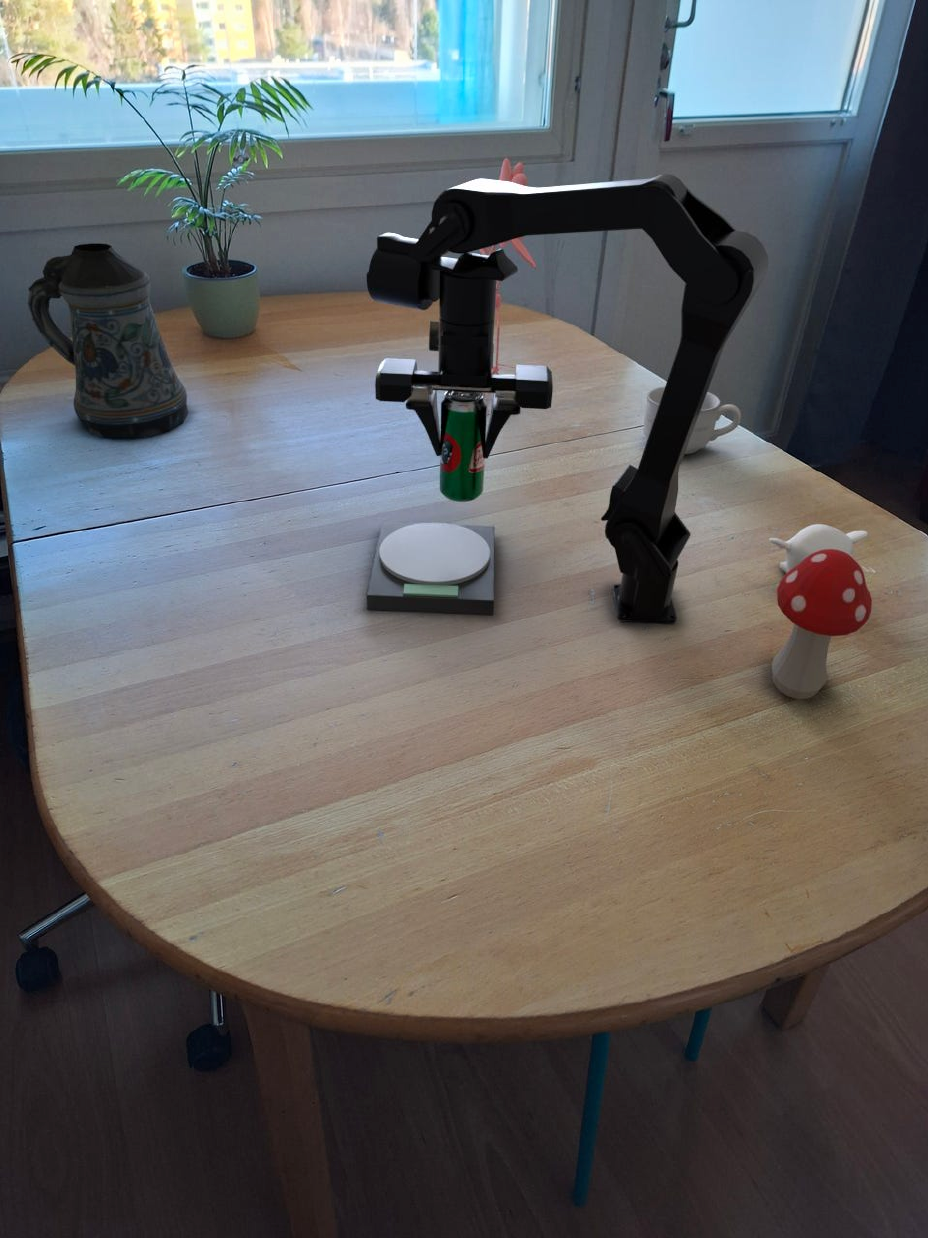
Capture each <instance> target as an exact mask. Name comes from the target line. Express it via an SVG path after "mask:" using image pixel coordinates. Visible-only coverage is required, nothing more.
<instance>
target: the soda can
mask: <svg viewBox="0 0 928 1238" xmlns="http://www.w3.org/2000/svg"><path fill="white" fill-rule="evenodd" d="M487 414H488V404H487V402H486V399H485V395H484V394H483V393H482V392H463V391H445V393H444V397H443V399H442V400H441V402H440V456H439V492H440V493H441V494H442V495H443V497H444V498H446V499H447V500H449V501H453V502H456V503H457V502H459V503H466V502H472V501H474V500H477V499H478V498H480V496H481V495H482V494H483V493H484V484H485V483H484V481H485V480H484V479H485V460H486V459H485V458H484V453H485V441H486V435H487V421H488V420H487V419H488V415H487Z"/></svg>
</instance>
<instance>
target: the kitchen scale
mask: <svg viewBox="0 0 928 1238" xmlns="http://www.w3.org/2000/svg"><path fill="white" fill-rule="evenodd" d="M371 567H372V568H371V572H370V575H369V581H368V586H367V591H366V610H370V611H390V612H411V613H412V612H415V613H437V614H438V613H439V614H459V615H460V614H461V615H485V616H493V615H494V610H495V609H494V608H495V526H494V525H489V526H488V525H473V524H471V525H470V524H452V523H448V522H447V523H446V522H401V521H399V522H397V521H381V524H380V529H379V534H378V540H377V543H376V548H375V553H374V557H373V562H372V566H371Z"/></svg>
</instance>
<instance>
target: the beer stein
mask: <svg viewBox="0 0 928 1238" xmlns="http://www.w3.org/2000/svg"><path fill="white" fill-rule="evenodd" d="M42 274H43V276H42V277H40V278H37V279H36V280H35V281H33V282H32V284H31V285H30V286H29V287H28V292H29V293H28V297H27V307H28V312H29V314H30V317H31V320H32V322H33V324H34V326H35V328H36V330H37V331H38V332H39V334H40V335H41V336H42V337H43V338H44V340H45V341H46V342H47V343H48V344H49V346H50V347H51V348H53V350H54V351H56V352H57V353H58V354H59V355H60V356H61V357H62V358H63V359H65V360H66V361H67V362H69V363H70V364H71V365H72V366H74V368H75V391H74V397H73V409H74V412H75V414H76V416H77V418H78V419H79V421H80V424H81V427H82V429H84V430H85V432H87V433H88V434H89V435H91V436H94V437H98V438H100V439H101V438H102V439H108V440H140V439H147V438H152V437H155V436H158V435H159V436H160V435H162V434H164V433H168V432H171V431H172V430H174V429H175V428H177V427H179V426H180V425H182V424H184V422H185V420H186V419H187V417H188V414H189V409H188V405H187V403H188V393H187V390H186V387H185V386H184V384H183V383H182V382H181V380H180V379H179V377H178V375H177V373H176V371H175V368H174V366H173V364H172V361H171V359H170V357H169V354H168V351H167V349H166V346H165V344H164V341H163V338H162V334H161V332H160V329H159V326H158V321H157V319H156V317H155V313H154V311H153V308H152V305H151V301H150V293H151V278H150V276H149V275H148V274H147V273H146V272H145V271H144V270H143V269H142V268H140V267H138V266H137V265H135V264H134V263H132V262H130V261H128V260H127V259H125V258H124V257H123V256H122V255H120V254H119V253H118V252H117V251H115V249H114V248H113V246H112V245H110V244H108V243H96V242H95V243H94V242H93V243H81V244H77V245H74V246H73V249H72V251H71V253H70V254H68V255H62V256H58V255H57V256H55V257H51V258H50V259H49V260H47V261H46V263H45V265H44V266H43V269H42ZM61 297H62V298H63V300H64V301H65V302H66V304H67V305H68V309H69V315H70V316H69V317H70V328H71V338H70V337H69V336H68V335H67V334H66V333H65V332H64V331H63V330H62V329H61V328H60V326H59V325H58V324H57V322H56V321H55V320H54V318H53V316H52V314H51V311H50V301H51V299H60V298H61Z"/></svg>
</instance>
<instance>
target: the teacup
mask: <svg viewBox="0 0 928 1238" xmlns="http://www.w3.org/2000/svg"><path fill="white" fill-rule="evenodd" d="M664 389H665V386H659V387H655V388H652V389H651V390H649V391H647V393H646V403H645V408H644V415H643V434H644V436H645V437H646V439H647V440H648V437H649V434H650V431H651V428H652V425H653V422H654V419H655V416H656V413H657V410H658V407H659V404H660V401H661V398H662V395H663V392H664ZM727 412H728V413H729V412H730V413H732V414H733V417H734V418H733V421H732V422H731V423H730V424H728V425H726V426H725V427H721V428H717V429H715V428H716V423H717V421H719V420H720V418H721V416H722V415H723V414H725V413H727ZM741 420H742V413H741V410H740V409H739V407H737V406H736V405H735V404H730V403H727V404H722V405H721V400H720V398H719V397H718V396H716V395H715V394H713V393H712V392H710V391H707V394H706V397H705V399H704V402H703V405H702V408H701V410H700V413H699V416H698V418H697V421H696V424H695V426H694V429H693V432H692V435H691V437H690V440H689V443H688V445H687V448H686V451H685V454H684V455H690V454H693V453H696V452H697V451H699V450H700V449H702V448H704V447H705V446H706V445H708V444H709V443H710V442H713V441H715V440H717V438H718V437H721V436H725V435H727V434H729V433H731V432H733V431H734V430H736V429H737V428H738V426H739V425H740V423H741Z"/></svg>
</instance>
